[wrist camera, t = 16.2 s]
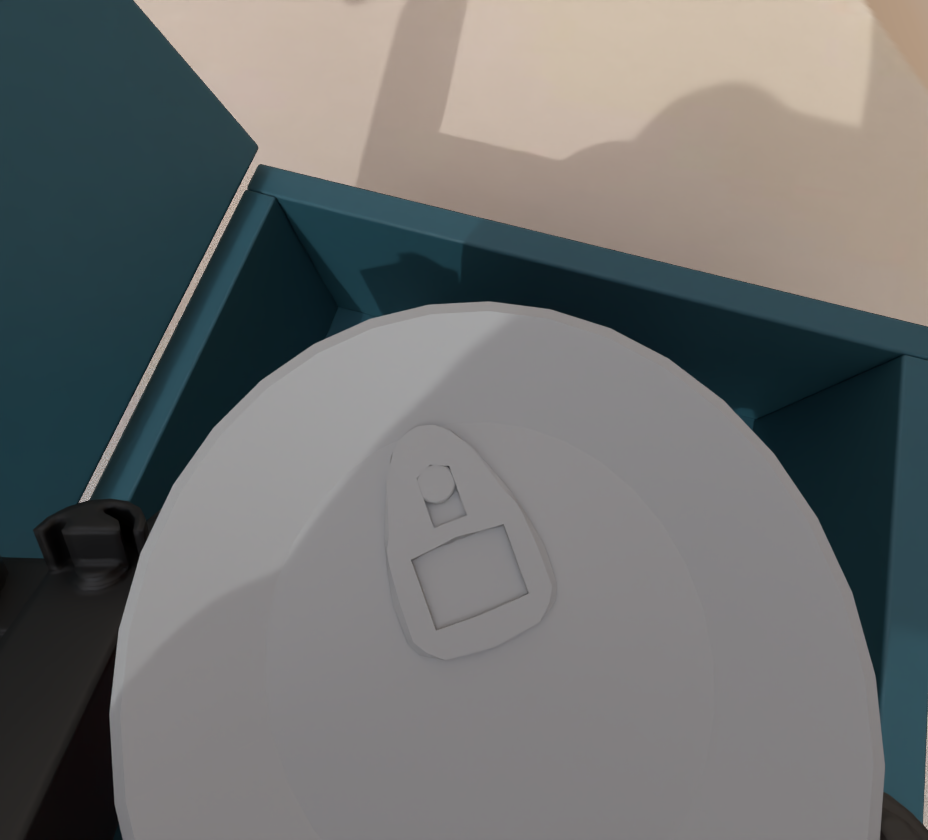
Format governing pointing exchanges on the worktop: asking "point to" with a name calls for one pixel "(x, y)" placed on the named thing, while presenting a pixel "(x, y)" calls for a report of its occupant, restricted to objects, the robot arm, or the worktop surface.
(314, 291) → the cool box
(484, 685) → the canned food
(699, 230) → the worktop surface
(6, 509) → the cooler lid
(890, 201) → the worktop surface
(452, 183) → the worktop surface
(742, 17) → the worktop surface
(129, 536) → the robot arm
